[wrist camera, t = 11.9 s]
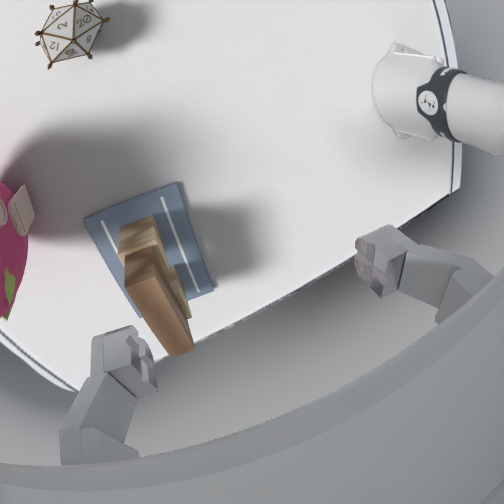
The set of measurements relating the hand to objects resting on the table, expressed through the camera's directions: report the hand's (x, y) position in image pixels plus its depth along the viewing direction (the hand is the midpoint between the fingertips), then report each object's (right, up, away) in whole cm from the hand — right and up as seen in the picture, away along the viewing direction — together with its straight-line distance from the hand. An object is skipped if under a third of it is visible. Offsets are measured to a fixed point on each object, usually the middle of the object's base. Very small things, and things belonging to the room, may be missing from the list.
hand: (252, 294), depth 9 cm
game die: (-21, +27, +12) cm, 36 cm away
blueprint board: (-15, +1, +32) cm, 35 cm away
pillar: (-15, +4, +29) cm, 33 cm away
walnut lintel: (-12, -3, +26) cm, 29 cm away
